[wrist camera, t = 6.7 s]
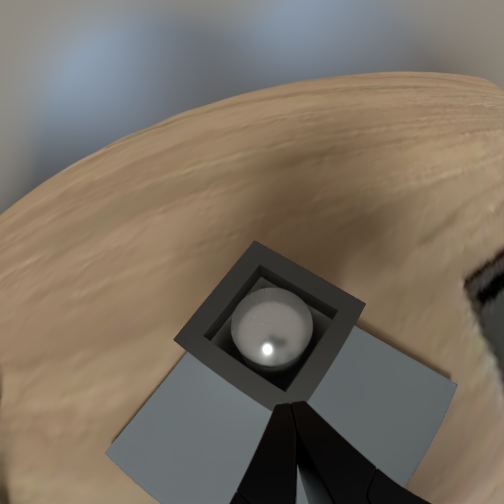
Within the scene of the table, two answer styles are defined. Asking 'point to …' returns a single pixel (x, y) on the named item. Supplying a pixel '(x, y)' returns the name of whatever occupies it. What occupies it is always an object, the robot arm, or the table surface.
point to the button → (271, 331)
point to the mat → (257, 416)
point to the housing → (259, 277)
